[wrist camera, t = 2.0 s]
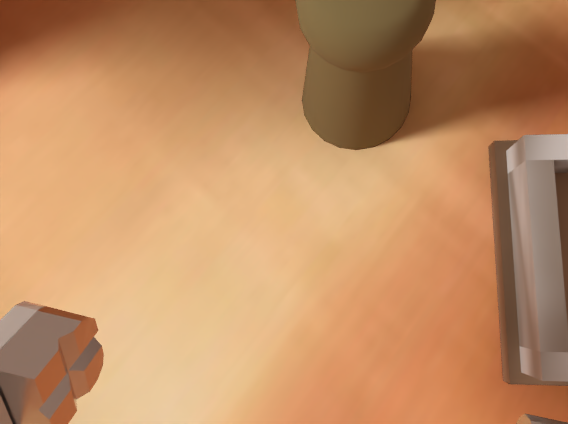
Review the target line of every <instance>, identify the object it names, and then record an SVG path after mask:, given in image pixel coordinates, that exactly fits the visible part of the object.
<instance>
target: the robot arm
mask: <svg viewBox="0 0 568 424" xmlns="http://www.w3.org/2000/svg"><path fill="white" fill-rule="evenodd" d="M97 331H98V328H97V325H96V321H95V319H94V318H90V317H86V316H82V315H78V314H74V313H70V312H66V311H62V310H58V309H54V308H50V307H47V306H42V305H38V304H34V303H29V302H25V301H24V302H21V303H19V304H17V305H15V306H14V307H13V308H12V309H11V310H10V311H9V312H8V313H7V314H6V315H5V316H4V317H3V318H2V319H1V320H0V424H68V423H69V422H70V420H71V419H72V417H73V416H74V414H75V413H76V411H77V403H76V399H78V398H79V397H81V396H83V395H85V394H86V393H88V392H90V390H91V389H92V387H93V386H94V384H95V383H96V381H97V379H98V377H99V374H100V371H101V369H102V366H103V355H104V354H103V349H102V346H101V344H100V343H99V342H98V341H97V340H96V339H95V338H94V336H95V334H96V333H97ZM516 424H568V423H567V422H562V421H557V420H552V419H548V418H543V417H538V416H533V415H529V414H524V415H522V416H521V417H520V418H519V419H518V421H517V423H516Z"/></svg>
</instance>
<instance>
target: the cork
mask: <svg viewBox="0 0 568 424" xmlns="http://www.w3.org/2000/svg"><path fill="white" fill-rule="evenodd" d="M295 1H296V7H297V13H298V19H299V25H300V29H301V31H302V33H303V34H304V36H305V38H306V40H307V41H308V43H309V45H310V49H309V55H308V62H307V69H306V76H305V83H304V89H303V96H302V103H303V109H304V115H305V117H306V119H307V121H308V123H309V124H310V126H311V128H312V130H313V131H314V132H315V133H317V134H318V135H319V136H320V137H321V138H322V139H323V140H324V141H326V142H328V143H330V144H333V145H335V146H337V147H339V148H346V149H354V150H359V149H365V148H370V147H375V146H377V145H378V144H380V143H382V142H384V141H386V140H388V139H390V138H391V137H392V136H393V135H394V134H395V133H396V132H397V131H398V130H399V129H400V128H401V126H402V124H403V122H404V120H405V118H406V116H407V114H408V112H409V106H410V98H411V74H412V49H413V48H414V47H415V46H416V45H417V44H418V43H419V42H420V41H421V40H422V38H423V36H424V34H425V32H426V30H427V28H428V26H429V24H430V22H431V20H432V17H433V14H434V9H435V1H436V0H295Z"/></svg>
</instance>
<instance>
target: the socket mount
mask: <svg viewBox="0 0 568 424" xmlns="http://www.w3.org/2000/svg"><path fill="white" fill-rule="evenodd" d="M489 162H490V178H491V194H492V210H493V227H494V243H495V259H496V275H497V292H498V308H499V324H500V340H501V356H502V373H503V381H505V382H507V383H509V384H523V385H558V386H568V134H554V135H524V136H523V137H522V138H520V139H519V140H513V141H494V142H493V143H492V144H491V145H490V146H489Z"/></svg>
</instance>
